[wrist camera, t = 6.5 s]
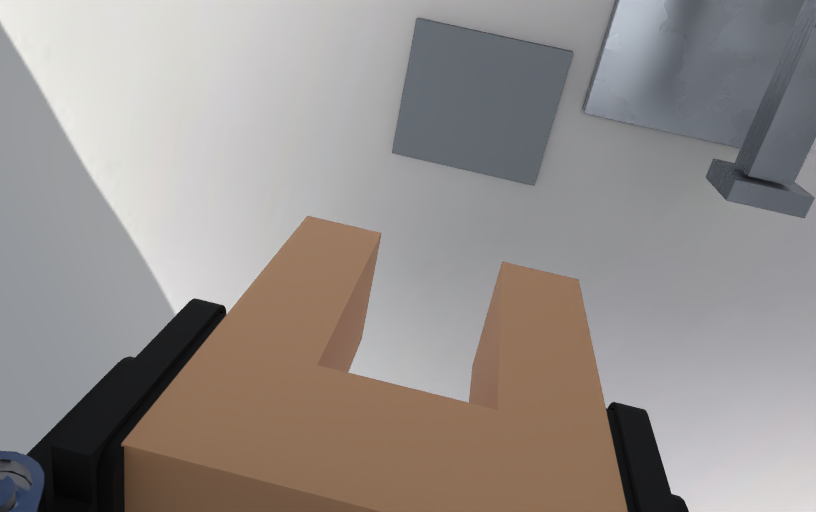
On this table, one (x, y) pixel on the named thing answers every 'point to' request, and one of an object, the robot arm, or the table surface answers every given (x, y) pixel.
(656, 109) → the stand
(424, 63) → the mat
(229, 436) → the c link
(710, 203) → the table surface
